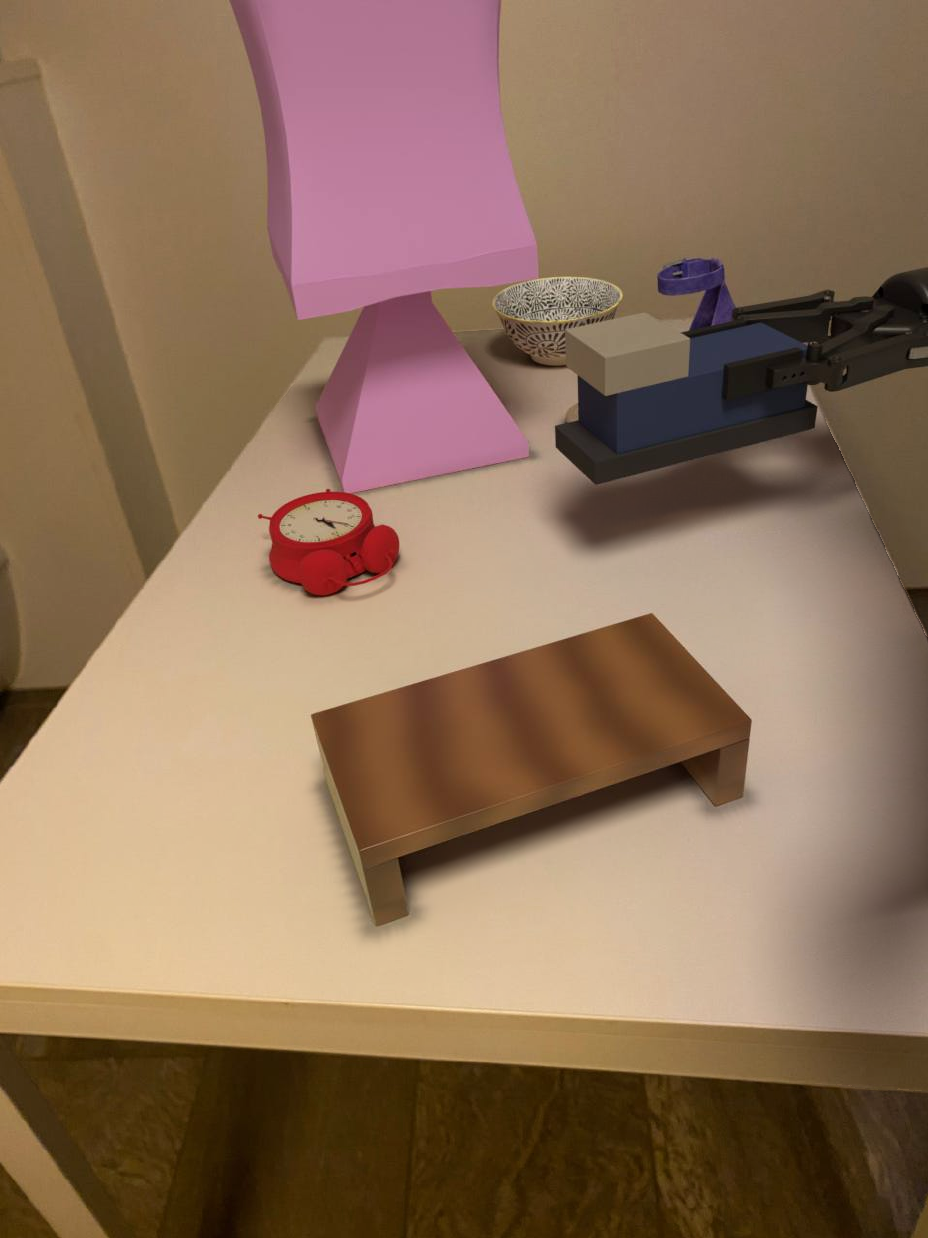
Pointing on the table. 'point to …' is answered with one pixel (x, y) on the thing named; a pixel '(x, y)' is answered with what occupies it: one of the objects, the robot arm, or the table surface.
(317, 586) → the alarm clock
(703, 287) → the sandal
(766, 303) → the robot arm
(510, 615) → the table surface
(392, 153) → the pink table lamp
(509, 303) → the bowl
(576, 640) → the low wooden table
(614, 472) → the stacked block toy
